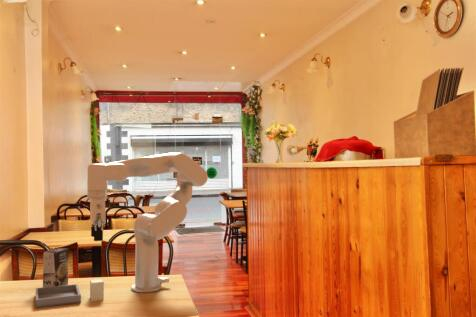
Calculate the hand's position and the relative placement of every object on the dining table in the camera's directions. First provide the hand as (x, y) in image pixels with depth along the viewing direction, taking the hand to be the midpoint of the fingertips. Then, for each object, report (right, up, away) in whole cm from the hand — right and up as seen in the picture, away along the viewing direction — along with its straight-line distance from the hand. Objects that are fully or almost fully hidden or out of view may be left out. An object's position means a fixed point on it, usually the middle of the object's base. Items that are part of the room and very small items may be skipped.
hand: (96, 238), depth 175 cm
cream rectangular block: (0, -24, 0) cm, 24 cm away
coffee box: (-21, -24, +13) cm, 34 cm away
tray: (-15, -23, -1) cm, 28 cm away
